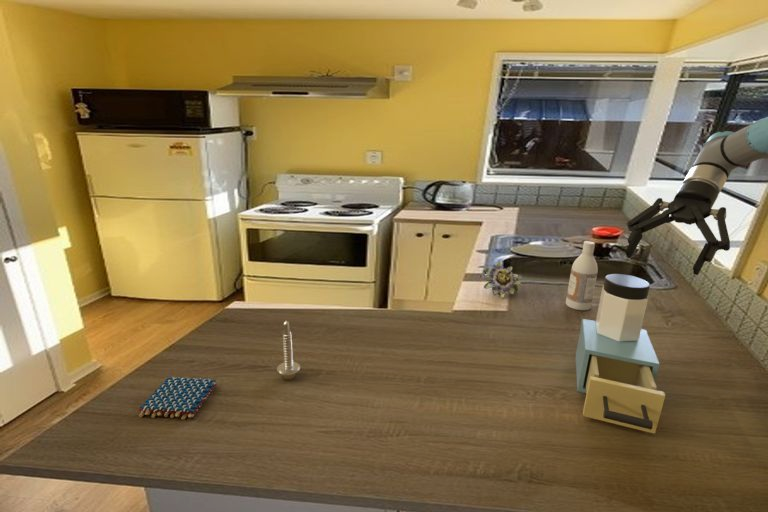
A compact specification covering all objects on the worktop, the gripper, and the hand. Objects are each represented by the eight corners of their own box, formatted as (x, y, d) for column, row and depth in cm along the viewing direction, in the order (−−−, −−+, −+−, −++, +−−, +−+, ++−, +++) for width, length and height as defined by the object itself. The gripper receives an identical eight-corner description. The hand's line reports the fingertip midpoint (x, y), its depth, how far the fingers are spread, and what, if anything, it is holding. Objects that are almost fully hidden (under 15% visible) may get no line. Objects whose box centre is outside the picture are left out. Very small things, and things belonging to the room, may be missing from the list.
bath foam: (561, 301, 130) (572, 238, 124) (583, 301, 131) (595, 239, 124) (571, 311, 124) (583, 245, 118) (595, 311, 124) (607, 246, 118)
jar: (621, 322, 96) (632, 272, 92) (648, 340, 88) (661, 287, 84) (585, 324, 94) (595, 274, 90) (609, 343, 86) (621, 288, 83)
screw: (296, 367, 93) (304, 379, 89) (274, 374, 90) (281, 386, 86) (293, 313, 88) (302, 323, 85) (270, 318, 86) (278, 328, 82)
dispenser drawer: (661, 456, 69) (673, 416, 67) (584, 436, 73) (592, 397, 71) (642, 390, 86) (651, 356, 84) (580, 376, 90) (586, 344, 88)
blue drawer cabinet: (648, 407, 83) (659, 364, 79) (577, 391, 87) (585, 349, 84) (636, 368, 96) (646, 329, 93) (575, 356, 100) (582, 318, 97)
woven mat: (167, 383, 86) (166, 374, 85) (218, 386, 86) (217, 377, 85) (136, 417, 76) (134, 408, 76) (194, 421, 76) (192, 411, 75)
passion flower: (499, 313, 134) (485, 288, 127) (485, 293, 143) (471, 270, 137) (530, 294, 133) (518, 268, 126) (513, 276, 142) (501, 251, 136)
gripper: (768, 209, 92) (728, 288, 87) (644, 192, 110) (606, 257, 106) (770, 186, 87) (728, 269, 82) (640, 172, 105) (600, 240, 101)
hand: (659, 262), depth 94 cm, fingers open, 13 cm apart
